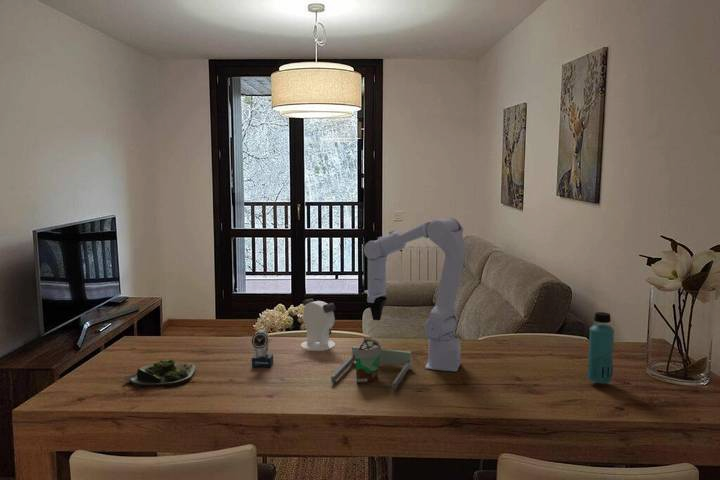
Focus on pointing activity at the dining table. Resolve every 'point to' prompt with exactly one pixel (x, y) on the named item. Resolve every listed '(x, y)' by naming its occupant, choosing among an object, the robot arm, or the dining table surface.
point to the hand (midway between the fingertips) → (376, 319)
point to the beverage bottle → (601, 350)
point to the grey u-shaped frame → (385, 358)
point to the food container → (367, 361)
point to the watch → (261, 350)
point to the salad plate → (162, 374)
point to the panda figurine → (318, 325)
